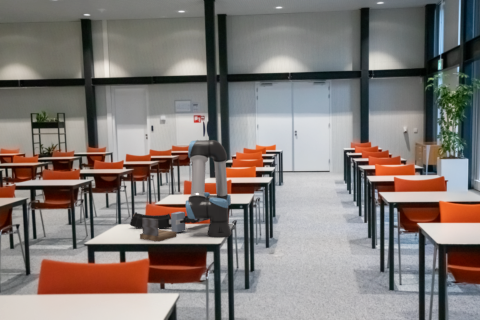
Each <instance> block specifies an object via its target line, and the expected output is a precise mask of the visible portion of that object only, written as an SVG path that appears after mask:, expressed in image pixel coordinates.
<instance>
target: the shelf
mask: <svg viewBox="0 0 480 320" xmlns="http://www.w3.org/2000/svg"><path fill="white" fill-rule="evenodd" d="M142 226H143V228H142V233H140V234H139V239H140V240H147V241H152V242H153V241H154V242H162V241H166V240H169V239H173V238H176V236H177V234H178V232H173V231H172V230H164V229H158V219H150V218H142Z"/></svg>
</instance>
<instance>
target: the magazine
mask: <svg viewBox="0 0 480 320" xmlns="http://www.w3.org/2000/svg"><path fill="white" fill-rule="evenodd" d="M142 218H150V219H158V228H164V229H170V228H171V229H172V225H171V224H169V220H171V213H167V214H162V215H149V214H142V213H138V212H134V213H133V216H132V218H131V219H130V223H129V225H130V226H131V227H133V228H136V229H143V226H142Z"/></svg>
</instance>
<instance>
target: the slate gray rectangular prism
mask: <svg viewBox="0 0 480 320" xmlns="http://www.w3.org/2000/svg"><path fill="white" fill-rule="evenodd" d="M170 216H171V225H172V227H171V231H173V232H176V233H180V232H185V231H186V228H187V227H186V223H182V224H178V225H176V220H180V219H183V220H184V218H185V216H186V211H175V212H172V213H170Z"/></svg>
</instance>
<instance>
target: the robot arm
mask: <svg viewBox="0 0 480 320" xmlns="http://www.w3.org/2000/svg"><path fill="white" fill-rule="evenodd" d="M224 147H225V146H223V145H222V144H221V143H220V142H219V141H218V140H215V139H211V140H208V139H206V140H201V139H200V140H198V139H197V140H191V141H190V143H189V145H188V148H187V149H188V151H187V154H188V155H187V156H188V158H189V159H190V161H191V162H192V164H191V165H192V167H191V186H190V187H191V189H190V196H189V197H188V199H187V200H186V201H185V213H186V215H185V218H184V220H183V219H180V220H176V225H178V224H182V223H185V224H190V223H191V224H196V223H197V224H200V222H203V221H209V226H208V229H207V237H211V238H225V237H229V236H231V235H232V230H231V227H230V224H229V206H231V204H232V203H231V201H232V200H231V199H232V198H231V195H230V194H228V180H227V179H228V178H227V166H226V165H227V163H226V162H227V160H228V155H227V152H226V149H225V148H224ZM209 158H212V162H213V163H214V175H215V188H216V194H215V195H214V194H211V193H210V192H205V188H206V187H205V186H206V185H205V184H206V163H207V162H208V160H209ZM169 224H171V220H169Z"/></svg>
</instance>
